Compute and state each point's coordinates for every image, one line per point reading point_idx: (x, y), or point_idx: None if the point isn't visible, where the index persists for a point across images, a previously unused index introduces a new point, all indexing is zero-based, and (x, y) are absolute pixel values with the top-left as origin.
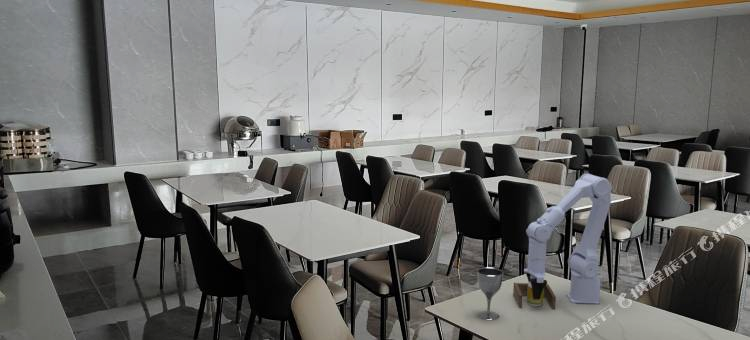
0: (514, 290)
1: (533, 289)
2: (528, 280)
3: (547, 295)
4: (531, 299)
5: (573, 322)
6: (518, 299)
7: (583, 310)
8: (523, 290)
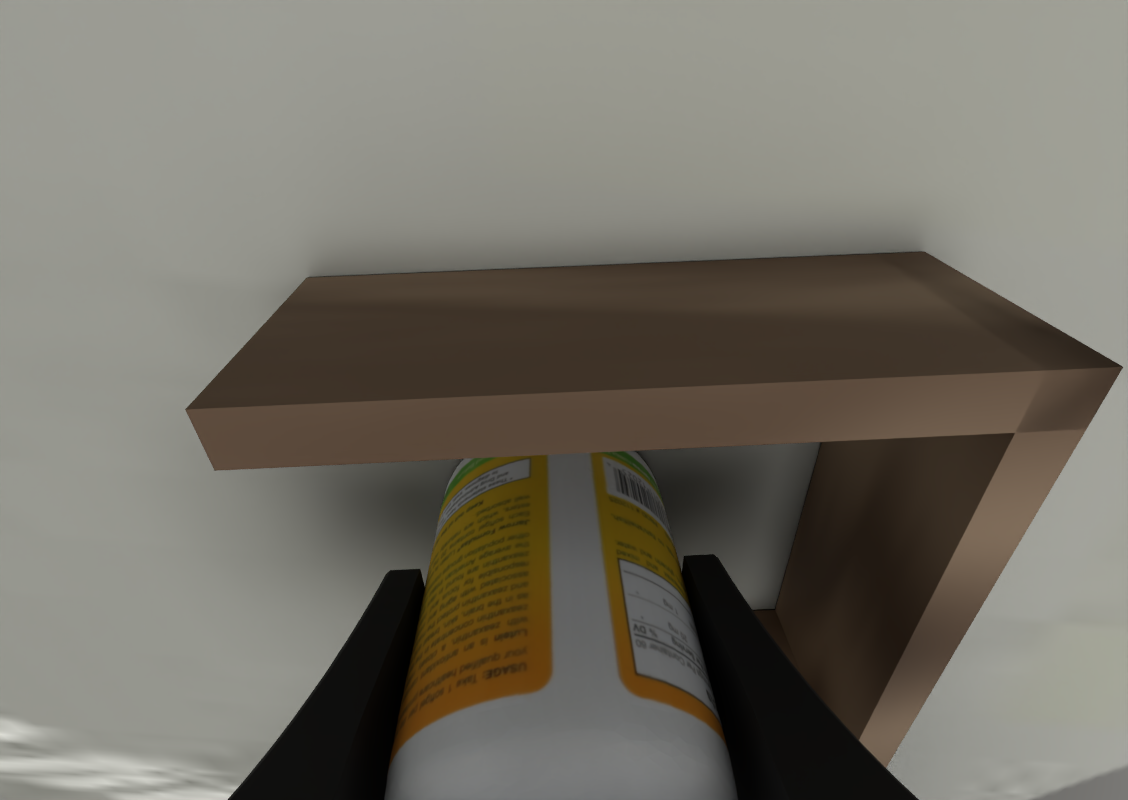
0: (877, 307)
1: (265, 764)
2: (790, 765)
3: None
4: (445, 526)
5: (140, 723)
6: (349, 331)
7: None
8: (882, 455)
